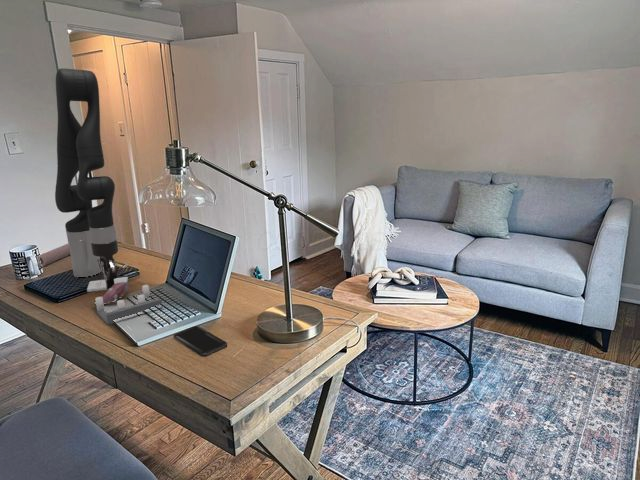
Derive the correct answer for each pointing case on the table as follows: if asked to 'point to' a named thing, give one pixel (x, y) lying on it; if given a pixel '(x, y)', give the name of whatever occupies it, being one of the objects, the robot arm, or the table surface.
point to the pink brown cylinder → (54, 255)
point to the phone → (200, 341)
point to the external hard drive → (103, 284)
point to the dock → (128, 310)
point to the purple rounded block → (115, 292)
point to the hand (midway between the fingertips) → (111, 289)
